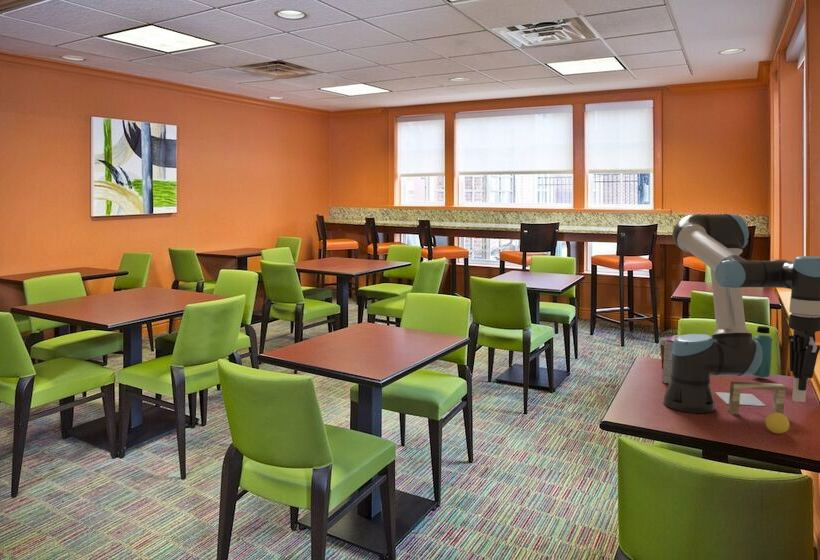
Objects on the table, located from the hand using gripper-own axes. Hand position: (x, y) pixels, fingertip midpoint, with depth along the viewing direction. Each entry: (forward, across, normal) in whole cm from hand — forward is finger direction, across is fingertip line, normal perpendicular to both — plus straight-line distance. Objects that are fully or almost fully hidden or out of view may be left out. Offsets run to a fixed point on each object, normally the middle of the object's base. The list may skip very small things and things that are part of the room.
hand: (798, 400), depth 164 cm
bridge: (+13, +27, 0) cm, 30 cm away
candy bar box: (+13, +59, +17) cm, 63 cm away
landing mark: (+13, +41, 0) cm, 43 cm away
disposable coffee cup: (+13, +76, +14) cm, 79 cm away
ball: (+11, +11, 0) cm, 16 cm away
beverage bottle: (+13, +68, -16) cm, 71 cm away
